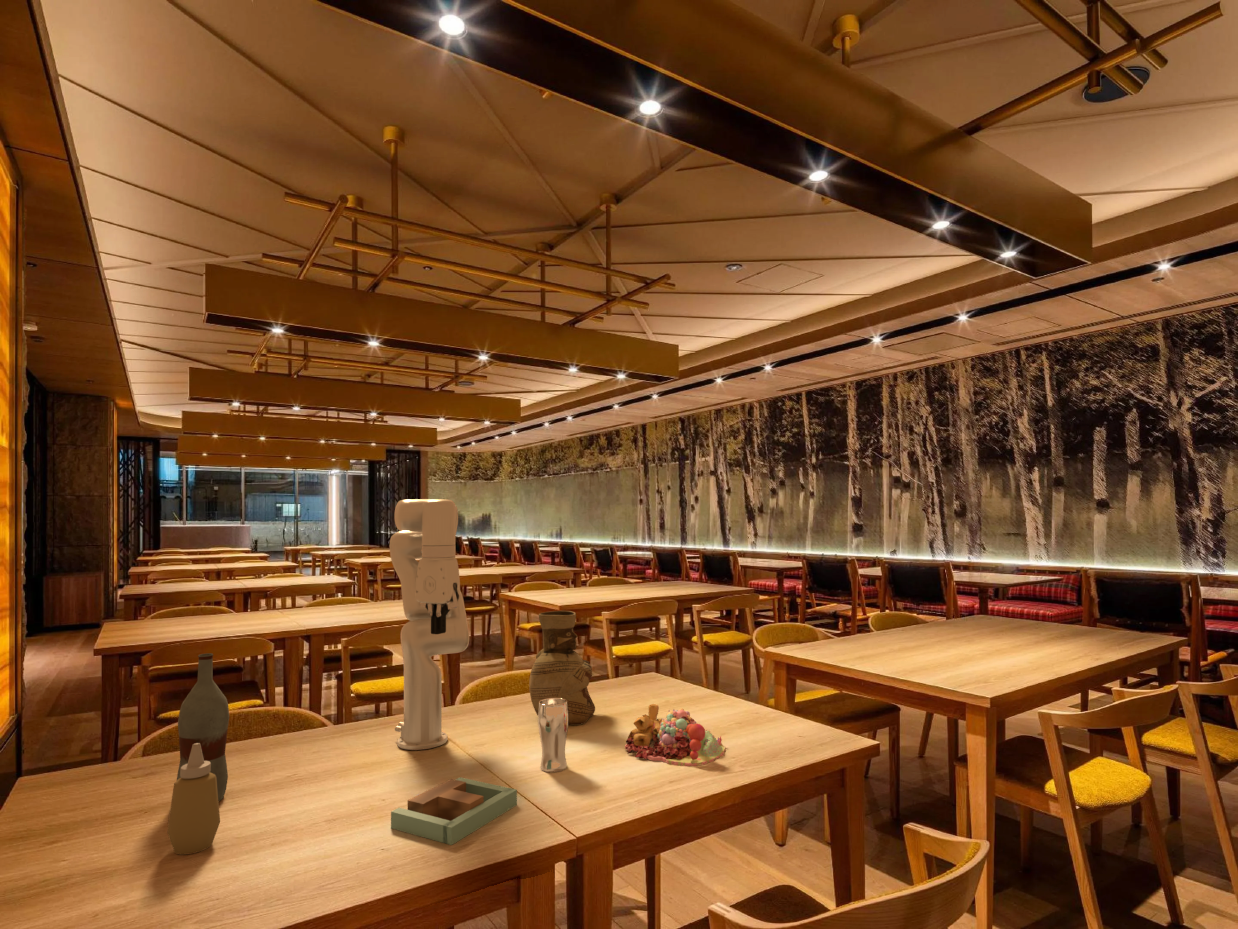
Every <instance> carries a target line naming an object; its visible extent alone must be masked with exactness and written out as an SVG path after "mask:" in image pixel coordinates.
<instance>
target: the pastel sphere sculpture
mask: <svg viewBox="0 0 1238 929" xmlns="http://www.w3.org/2000/svg"><path fill="white" fill-rule="evenodd" d="M659 708H660V707H659V705H658V704H657V703H652V704H649V705H648V714H643V715H642V716H639V717H638V718H636V719H635V721H634V722H633V725H634V726H635V728H634V729H632V730H630V733H629V734H628V736H627V739H626V740H625V743H626V744H624V749H625V750H626V751H627V754H631V753H632V754H633V753H636V754H635V756H634V758H636V759H644V760H650V761H652V762H656V761H659V762H660V761H661V762H663V763H665V764H668V765H674V766H682V767H683V766H684V767H697V766H700V765H701V766H702V765H706V764H709V763H712V762H713V761H715V760H717V759H719V758H720V757H721V756H724V753H725V751H726V748H725V746H724V745H723V743H722V740H723V739H722V735H720V736H718V737H717V738H716V737H715V735H713V733H712V732H711V731H710V730H708V729H705V726H703V725H702V724H700V723H697V721H696V720H695V719H694V718H693V717H692V716H691V713H690V711H689V710H685V709H684V708H682V707H681V708H679V709H673V710H670V709H668V712H667V713H666V715H665V718H658V715H659V710H660V709H659Z"/></svg>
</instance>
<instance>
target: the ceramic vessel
mask: <svg viewBox="0 0 1238 929" xmlns="http://www.w3.org/2000/svg"><path fill="white" fill-rule="evenodd" d="M576 619H577V614H576V612H575V611H571V610H552V611H545V612H540V613H539V614H538V620H539V624H540V627H541V629H542V646H543V648H542V649H540V650H539V651H538V653H536V655H535V661H534V662H533V665H532V667H531V669H530V674H529V675H530V676H529V683H528V685H529V687H528V688H529V694H530V700H531V703H532V708H533V709H534V712H535V714H536V715H537V716H538V712H539V701H540V700H543V699H546V698H563V699H566V700H567V707H568V726H579V725H583V724H585V723H587V721H588V720H589V718H591V717H592V716H593V715H594V714H595V712H596V705H595V703H594V701H593V699H592V697H591V695H590V693H589V690H588V686H589V685H590V680H591V679H592V678H593V669H592V666H591V662H590V661H588V660H586V659H583V658H582V657H581V656H580V654H579V653H577V651H575V650H577V638H578V635H577V633H575V630H574V627H575V625H576V621H577V620H576Z"/></svg>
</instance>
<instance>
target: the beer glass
mask: <svg viewBox="0 0 1238 929" xmlns="http://www.w3.org/2000/svg"><path fill="white" fill-rule="evenodd" d="M537 722H538V724H537V725H538V726H537V727H538V733H539V739H540V744H541V745H540V746H541V761H540V770H541V771H542V772H546V773H558V772H562V771H565V770H566V769H567V767H568V764H567V758H566V743H567V736H568V729H569V725H568V707H567V700H566V699H563V698H546V699H543V700H540V701H539V712H538V715H537Z"/></svg>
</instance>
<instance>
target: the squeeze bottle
mask: <svg viewBox="0 0 1238 929" xmlns="http://www.w3.org/2000/svg"><path fill="white" fill-rule="evenodd" d="M210 771H211V763H210V761H204V758H203V754H202V749H201V745H200V743H195V744H193V745H192V749H191V753H190V757H189V760H188V764H185V765H183V766H182V767H181V770H180V776H181V778H179V779H178V780H177V779H176V780H177V781H175V782H174V783H173V790H172V795H171V803H170V810H169V817H168V823H167V824H168V825H167V835H168V838H169V841H170V843H171V846H172V849H173V851H174V852H173V853H175V854H177V855H190V854H196V853H199V852H202V851H204V850H206V849H208V848H210V847H211V846H212V845H213V843H214V840H215V837H216V834H217V832H218V829H219V826H220V823H221V817H220V815H221V814H220V805H219V802H220V801H218V791H217V779H216V775H215V774H213V773H210Z"/></svg>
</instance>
